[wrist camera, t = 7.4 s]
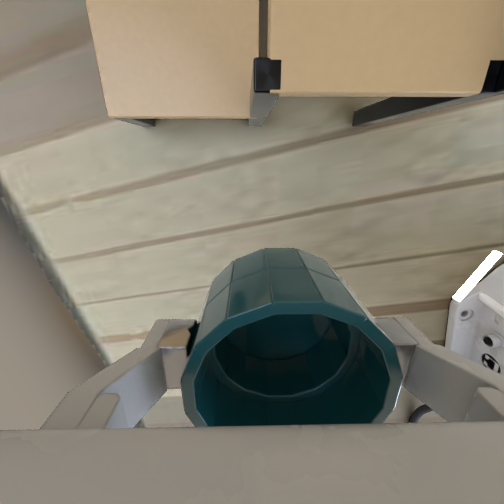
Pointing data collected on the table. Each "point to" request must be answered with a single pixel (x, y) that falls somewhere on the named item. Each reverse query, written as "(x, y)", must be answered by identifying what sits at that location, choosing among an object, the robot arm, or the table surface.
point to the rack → (294, 56)
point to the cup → (287, 348)
